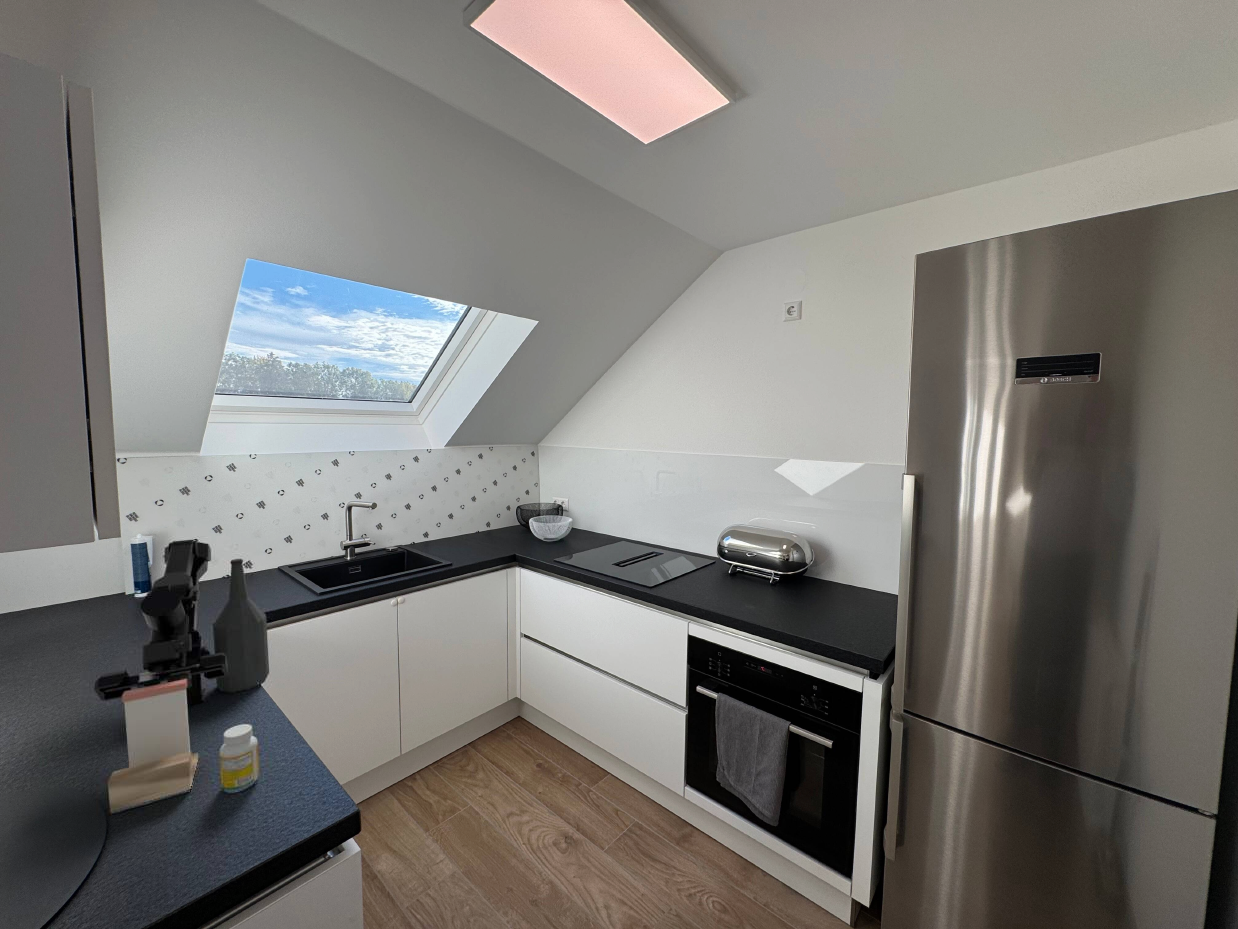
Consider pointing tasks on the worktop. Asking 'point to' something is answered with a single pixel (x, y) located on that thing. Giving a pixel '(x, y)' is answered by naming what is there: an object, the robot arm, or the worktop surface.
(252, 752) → the supplement bottle
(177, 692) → the white red-topped panel
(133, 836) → the worktop surface
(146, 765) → the oak key housing
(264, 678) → the bottle
